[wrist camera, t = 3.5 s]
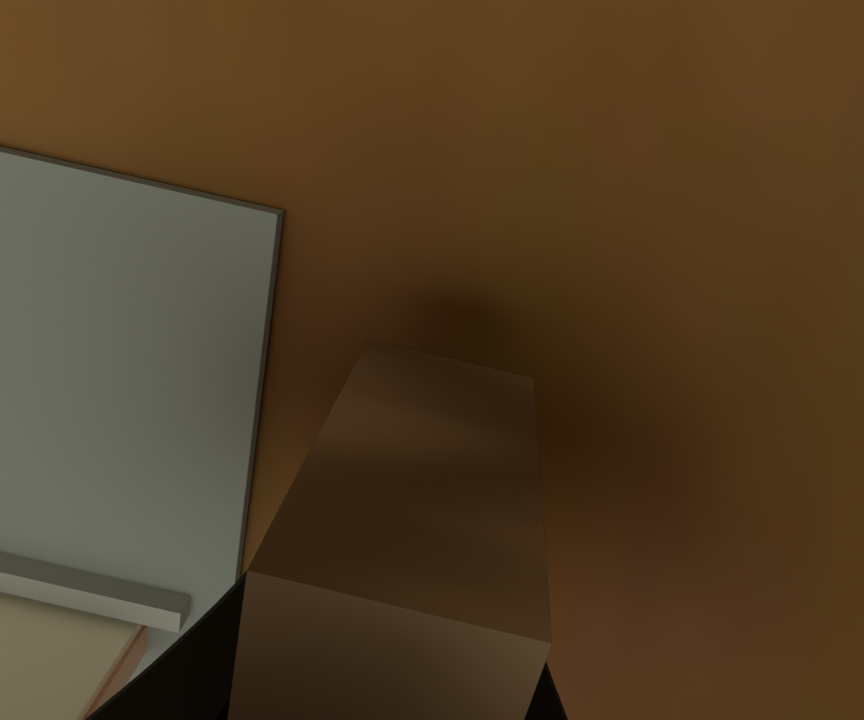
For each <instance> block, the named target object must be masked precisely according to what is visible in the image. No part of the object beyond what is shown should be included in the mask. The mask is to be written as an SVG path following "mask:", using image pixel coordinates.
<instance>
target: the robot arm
mask: <svg viewBox="0 0 864 720" xmlns="http://www.w3.org/2000/svg"><path fill="white" fill-rule="evenodd" d="M246 575H247V571H246V572H245V573H244V574H243V575H242V576H241V577H240V578H239V579H238V581H237V582H236V583H235V584H234V585H233V586H232V587H231V588H230V589H229V590H228V591H227V592H226V593H225V594H224V595H223V596H222V597H221V598H220V599H219V600H218V601H217V602H216V603H215V604H214V605H213V606H212V607H211V608H210V609H209V610H208V611H207V612H206V613H205V614H204V615H203V616H202V617H201V618H200V619H199V620H198V621H197V622H196V623H195V624H194V625H193V626H192V627H191V628H190V629H189V630H187V631H186V632H185V633H184V634H183V635H182V636H181V637H180V638H179V639H178V640H177V641H176V642H174V643H173V644H172V645H171V646H170V647H169V648H168V649H167V650H166V651H165V652H164V653H163V654H161V655H160V656H159V657H158V658H157V659H156V660H155V661H154V662H153V663H152V664H150V665H149V666H148V667H147V668H146V669H145V670H144V671H142V672H141V673H140V674H139V675H138V676H136V677H135V678H134V679H133V680H132V681H130V682H129V683H128V684H127V685H126V686H124V687H123V688H122V689H121V690H120V691H118V692H117V693H116V694H115V695H114V696H112V697H111V698H110V699H109V700H108V701H106V702H105V703H104V704H103V705H102V706H100V707H99V708H98V709H97V710H96V711H94V712H93V713H92V714H91V715H90V716H88V717H87V718H86V719H85V720H228V712H229V704H230V697H231V689H232V681H233V674H234V666H235V659H236V651H237V643H238V636H239V628H240V620H241V613H242V605H243V598H244V590H245V582H246ZM524 720H568V718H567V716H566V713H565V711H564V708H563V706H562V703H561V700H560V698H559V695H558V693H557V690H556V687H555V685H554V682H553V679H552V677H551V674H550V671H549V668H548V665H547V663H546V662H545V664H544V667H543V670H542V672H541V675H540V678H539V681H538V683H537V686H536V689H535V691H534V694H533V697H532V699H531V702H530V705H529V708H528V710H527V713H526V716H525V718H524Z"/></svg>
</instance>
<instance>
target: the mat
mask: <svg viewBox="0 0 864 720" xmlns="http://www.w3.org/2000/svg"><path fill="white" fill-rule="evenodd" d="M283 213H284V210H280V209H275V208H271V207H267V206H262V205H258V204H253V203H249V202H245V201H240V200H236V199H231V198H227V197H222V196H218V195H214V194H209V193H205V192H200V191H196V190H192V189H187V188H183V187H178V186H174V185H169V184H165V183H161V182H156V181H152V180H147V179H143V178H139V177H134V176H130V175H125V174H121V173H116V172H112V171H108V170H103V169H99V168H94V167H90V166H86V165H81V164H77V163H72V162H68V161H63V160H59V159H55V158H50V157H46V156H41V155H37V154H33V153H28V152H24V151H19V150H15V149H10V148H6V147H2V146H0V592H3V593H7V594H12V595H16V596H20V597H25V598H29V599H33V600H38V601H42V602H46V603H51V604H55V605H59V606H64V607H68V608H72V609H77V610H81V611H86V612H90V613H94V614H99V615H103V616H107V617H112V618H116V619H120V620H125V621H129V622H133V623H138V624H142V625H146V626H148V637H147V651H146V653H145V654H144V656H143V658H142V659H141V661H140V663H139V664H138V666H137V668H136V669H135V671H134V673H133V674H132V676H131V678H130V679H129V681H128V683H129V682H130V681H132V680H133V679H134V678H135V677H136V676H138V675H139V674H140V673H141V672H142V671H144V670H145V669H146V668H147V667H148V666H149V665H150V664H152V663H153V662H154V661H155V660H156V659H157V658H158V657H159V656H160V655H161V654H163V653H164V652H165V651H166V650H167V649H168V648H169V647H170V646H171V645H172V644H173V643H174V642H176V641H177V640H178V639H179V638H180V637H181V636H182V635H183V634H184V633H185V632H186V631H187V630H189V629H190V628H191V627H192V626H193V625H194V624H195V623H196V622H197V621H198V620H199V619H200V618H201V617H202V616H203V615H204V614H205V613H206V612H207V611H208V610H209V609H210V608H211V607H212V606H213V605H214V604H215V603H216V602H217V601H218V600H219V599H220V598H221V597H222V596H223V595H224V594H225V593H226V592H227V591H228V590H229V589H230V588H231V587H232V586H233V585H234V584H235V583H236V582H237V581H238V579H239V578H240V572H241V564H242V556H243V547H244V539H245V531H246V522H247V514H248V505H249V497H250V489H251V480H252V472H253V464H254V455H255V447H256V439H257V430H258V422H259V413H260V405H261V397H262V388H263V380H264V372H265V363H266V355H267V347H268V338H269V330H270V321H271V313H272V305H273V296H274V288H275V280H276V271H277V263H278V254H279V246H280V238H281V229H282V221H283ZM128 683H127V684H128ZM127 684H126V685H127Z"/></svg>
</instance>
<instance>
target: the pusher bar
mask: <svg viewBox="0 0 864 720" xmlns="http://www.w3.org/2000/svg"><path fill="white" fill-rule="evenodd" d="M551 645H552V635H551V621H550V607H549V592H548V578H547V564H546V550H545V535H544V521H543V507H542V493H541V478H540V464H539V450H538V436H537V422H536V407H535V393H534V379H533V378H532V377H528V376H524V375H519V374H515V373H511V372H507V371H502V370H498V369H494V368H490V367H485V366H481V365H477V364H473V363H468V362H464V361H460V360H456V359H451V358H447V357H443V356H439V355H434V354H430V353H426V352H422V351H417V350H413V349H409V348H405V347H400V346H396V345H392V344H388V343H383V342H379V341H375V340H371V339H368V340H367V342H366V344H365V346H364V348H363V350H362V351H361V353H360V355H359V357H358V359H357V361H356V363H355V365H354V367H353V369H352V371H351V372H350V374H349V376H348V378H347V380H346V382H345V384H344V386H343V388H342V390H341V392H340V394H339V395H338V397H337V399H336V401H335V403H334V405H333V407H332V409H331V411H330V413H329V415H328V416H327V418H326V420H325V422H324V424H323V426H322V428H321V430H320V432H319V434H318V436H317V438H316V439H315V441H314V443H313V445H312V447H311V449H310V451H309V453H308V455H307V457H306V459H305V460H304V462H303V464H302V466H301V468H300V470H299V472H298V474H297V476H296V478H295V480H294V482H293V483H292V485H291V487H290V489H289V491H288V493H287V495H286V497H285V499H284V501H283V503H282V505H281V506H280V508H279V510H278V512H277V514H276V516H275V518H274V520H273V522H272V524H271V526H270V527H269V529H268V531H267V533H266V535H265V537H264V539H263V541H262V543H261V545H260V547H259V549H258V550H257V552H256V554H255V556H254V558H253V560H252V562H251V564H250V566H249V568H248V570H247V575H246V582H245V590H244V598H243V605H242V613H241V620H240V628H239V636H238V643H237V651H236V659H235V666H234V674H233V681H232V689H231V697H230V704H229V712H228V720H524V718H525V716H526V713H527V710H528V708H529V705H530V702H531V699H532V697H533V694H534V691H535V689H536V686H537V683H538V681H539V678H540V675H541V672H542V670H543V667H544V664H545V662H546V659H547V656H548V654H549V651H550V648H551Z"/></svg>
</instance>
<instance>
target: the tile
mask: <svg viewBox="0 0 864 720" xmlns="http://www.w3.org/2000/svg"><path fill="white" fill-rule="evenodd" d="M147 637H148V626H146V625H142V624H138V623H133V622H129V621H125V620H120V619H116V618H112V617H107V616H103V615H99V614H94V613H90V612H86V611H81V610H77V609H72V608H68V607H64V606H59V605H55V604H51V603H46V602H42V601H38V600H33V599H29V598H25V597H20V596H16V595H12V594H7V593H3V592H0V720H85V719H86V718H87V717H88V716H90V715H91V714H92V713H93V712H94V711H96V710H97V709H98V708H99V707H100V706H102V705H103V704H104V703H105V702H106V701H108V700H109V699H110V698H111V697H112V696H114V695H115V694H116V693H117V692H118V691H120V690H121V689H122V688H123V687H124V686H126V684H127V683H128V681H129V679H130V678H131V676H132V674H133V673H134V671H135V669H136V668H137V666H138V664H139V663H140V661H141V659H142V658H143V656H144V654H145V653H146V651H147Z"/></svg>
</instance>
